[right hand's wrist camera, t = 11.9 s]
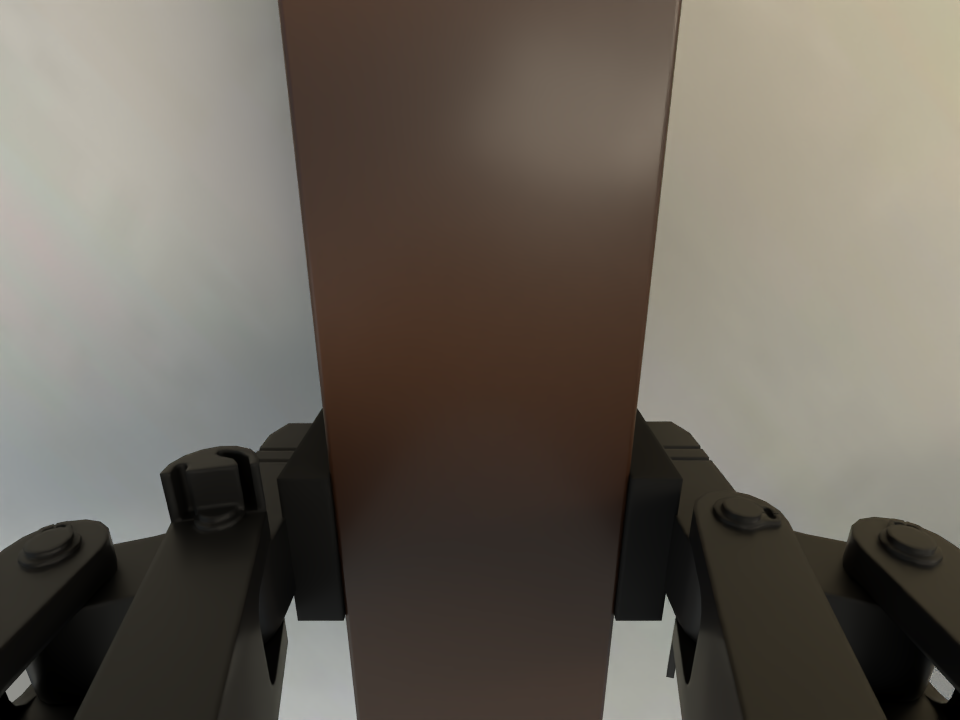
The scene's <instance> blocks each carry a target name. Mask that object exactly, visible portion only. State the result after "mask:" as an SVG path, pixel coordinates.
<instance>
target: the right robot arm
mask: <svg viewBox="0 0 960 720" xmlns="http://www.w3.org/2000/svg"><path fill="white" fill-rule="evenodd" d="M160 477H161V481H162V485H163V489H164V494H165V498H166V502H167V506H168V510H169V515H170V519H171V524H170V526H169V528H168V530H167V532H166V534H162V535H158V536H154V537H149V538H144V539H139V540H134V541H129V542H124V543H118V544H113V542H112V539H111V535H110V532H109V528H108V527H106V526H105V525H104V524H103V523H101V522H99V521H92V520H76V521H65V522H60V523H57V524H56V525H54V524H52V525H49V526H46V527H43V528H41V529H39V530H38V531H36V532H34V533H31V534H29V535H27V536H24V537H22V538H21V539H19V540H18V541H16V542H15V543H13V544H12V545H10V546H8V547H7V548H5V549H4V550H3V551H1V552H0V720H278V716H279V708H280V700H281V692H282V684H283V676H284V668H285V660H286V652H287V645H288V638H287V631H286V625H285V619H284V617H285V615H286V613H287V610H288V608H289V606H290V603H291V601H292V599H293V596H294V597H295V604H296V611H297V617H298V621H344V618H345V614H346V613H345V604H344V595H343V586H342V577H341V568H340V558H339V549H338V540H337V531H336V522H335V513H334V504H333V495H332V486H331V477H330V469H329V460H328V451H327V442H326V433H325V424H324V415H323V408H322V410H321V411H320V413H319V414H318V416H317V417H316V419H315V420H314V422H313V423H288V424H287V425H285V426H284V427H282V428H280V429H279V430H277V431H275V432H274V433H272V434H271V435H270V436H269V437H268V438H267V439H266V441H265V442H264V443H263V445H262V446H261V447H260V451H257V452H256V453H255V452H254V451H252V450H251V449H248V448H244V447H239V446H219V447H213V448H208V449H203V450H199V451H197V452H194V453H191V454H188V455H185V456H183V457H181V458H179V459H178V460H176V461H174V462H172V463H171V464H169V465H168V466H167V467H166V468H165V469H164V470H163V471H162V472H161V473H160ZM665 595H667V597H668V599H669V601H670V604H671V606H672V608H673V611H674V613H675V615H676V619H675V625H674V631H673V637H672V643H671V649H670V655H669V662H668V668H667V676H666V677H670V678H674V673H675V668H676V675H677V683H678V691H679V699H680V707H681V714H682V720H960V549H959V548H957V547H956V546H955V545H953V544H952V543H950V542H948V541H947V540H945V539H944V538H942V537H941V536H939V535H937V534H935V533H933V532H931V531H928V530H926V529H924V528H922V527H920V526H919V525H916V524H913V523H910V522H904V521H903V520H898V519H889V518H879V517H871V518H864V519H859V520H858V521H857V522H856V523H854V524H853V525H852V527H851V530H850V534H849V537H848V541H847V542H844V541H839V540H834V539H828V538H823V537H818V536H813V535H808V534H804V533H800V532H796V531H793V529H792V527H791V525H790V523H789V522H788V520H787V519H786V518H785V517H784V515H783V514H782V513H781V512H780V511H779V510H778V509H776V508H775V507H773V506H772V505H770V504H769V503H767V502H765V501H763V500H761V499H758V498H756V497H753V496H751V495H748V494H743V493H739V492H736V491H735V490H734V489H733V487H732V486H731V485H730V484H729V482H728V481H727V480H726V479H725V477H724V476H723V475H722V473H721V472H720V471H719V470H718V468H717V467H716V466H715V465H714V463H713V462H712V461H711V460H709V457H708V456H707V454H706V453H705V452H704V451H703V449H700V445H699V444H698V443H697V442H696V440H695V439H694V438H693V437H692V435H691V434H690V433H689V432H687V431H686V430H684V429H682V428H681V427H679V426H677V425H676V424H674V423H673V422H646V421H645V420H644V418H643V417H642V415H641V413H640V412H639V410H638V409H637V411H636V420H635V430H634V439H633V448H632V457H631V466H630V473H629V482H628V491H627V500H626V509H625V519H624V528H623V537H622V546H621V555H620V564H619V573H618V582H617V591H616V600H615V609H614V616H615V619H616V621H662V615H663V608H664V601H665ZM934 667H936V668H937V669H938V670H939V671H940V672H941V673H942V674H943V675H944V677H945V678H946V679H947V680H948V681H949V682H950V683H951V684H952V685H953V686H954V687H955V690H954V693H953V695H952V697H951V699H950V700H947V699H945V698H944V697H943V696H942V695H941V694H940V693H939V692H938V691H937V690H936V689H935V688H934V687H933V686H932V684H931V683H930V682H929V679H930V677H931V674H932V672H933V669H934ZM25 669H26V671H27V673H28V676H29V678H30V681H31V683H32V684H31V685H30V686H29V687H28V688H27V689H26V691H25V692H24V693H23V694H22V695H21V696H20V697H18V698H17V699H16V700H15V701H14V702H11V701H9V699H8V696H7V694H6V692H5V691H6V690H7V689H8V688H9V687H10V686H11V685H12V683H13V682H14V681H15V680H16V679H17V678H18V677H19V676H20V675H21V674H22V672H23V671H24V670H25Z"/></svg>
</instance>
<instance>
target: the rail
mask: <svg viewBox="0 0 960 720" xmlns="http://www.w3.org/2000/svg"><path fill="white" fill-rule="evenodd" d="M681 4H682V0H278V7H279V16H280V25H281V34H282V43H283V52H284V61H285V70H286V79H287V88H288V97H289V107H290V116H291V125H292V134H293V143H294V152H295V161H296V170H297V179H298V188H299V197H300V206H301V215H302V224H303V233H304V242H305V251H306V261H307V270H308V279H309V288H310V297H311V306H312V315H313V324H314V333H315V342H316V351H317V360H318V369H319V378H320V387H321V396H322V406H323V415H324V424H325V433H326V442H327V451H328V460H329V469H330V477H331V486H332V495H333V504H334V513H335V522H336V531H337V540H338V549H339V558H340V568H341V577H342V586H343V595H344V604H345V613H346V623H347V632H348V641H349V650H350V659H351V668H352V677H353V686H354V696H355V705H356V714H357V720H602V719H603V710H604V701H605V692H606V683H607V674H608V665H609V656H610V647H611V638H612V628H613V619H614V609H615V600H616V591H617V582H618V573H619V564H620V555H621V546H622V537H623V528H624V519H625V509H626V500H627V491H628V482H629V473H630V466H631V457H632V448H633V439H634V430H635V420H636V411H637V402H638V393H639V384H640V375H641V366H642V357H643V348H644V339H645V330H646V321H647V312H648V303H649V294H650V285H651V276H652V267H653V258H654V249H655V240H656V231H657V222H658V212H659V203H660V194H661V185H662V176H663V167H664V158H665V149H666V140H667V131H668V122H669V113H670V104H671V95H672V86H673V77H674V68H675V59H676V50H677V41H678V32H679V23H680V14H681Z"/></svg>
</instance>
